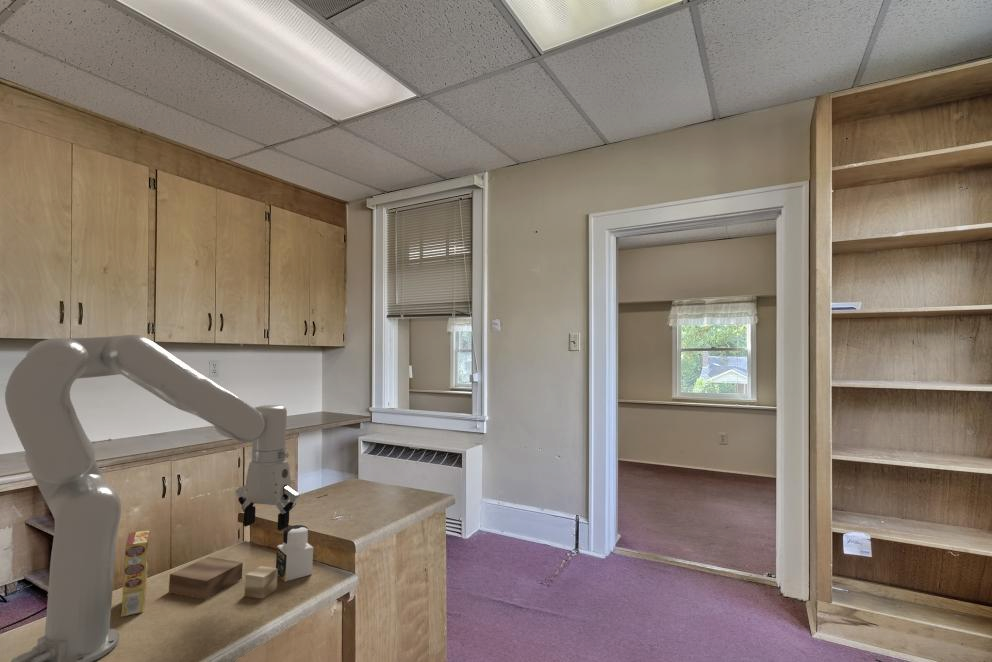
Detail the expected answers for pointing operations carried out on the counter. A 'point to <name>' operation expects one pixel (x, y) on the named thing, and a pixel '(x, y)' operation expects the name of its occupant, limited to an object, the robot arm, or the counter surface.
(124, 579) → the candy box
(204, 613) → the counter surface
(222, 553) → the counter surface
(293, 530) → the medicine bottle
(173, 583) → the walnut block
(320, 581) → the counter surface
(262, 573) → the maple cube
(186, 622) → the counter surface
